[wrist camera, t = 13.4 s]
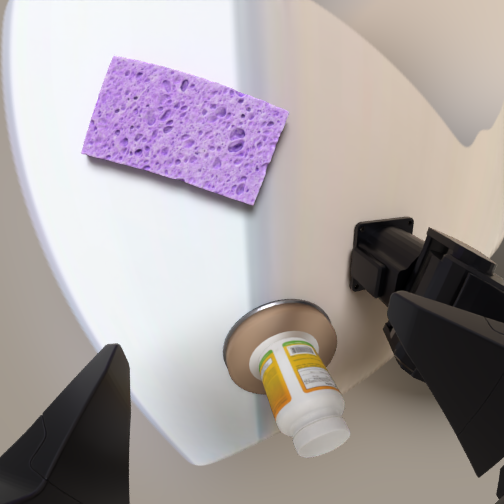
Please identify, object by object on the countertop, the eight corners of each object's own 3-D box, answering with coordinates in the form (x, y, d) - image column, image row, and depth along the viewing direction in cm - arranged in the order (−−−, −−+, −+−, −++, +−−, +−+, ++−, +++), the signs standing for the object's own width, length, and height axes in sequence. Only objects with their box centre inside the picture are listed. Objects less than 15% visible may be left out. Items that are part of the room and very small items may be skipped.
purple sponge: (248, 201, 21) (253, 207, 19) (85, 152, 17) (76, 154, 15) (283, 113, 18) (292, 111, 17) (118, 60, 14) (112, 53, 13)
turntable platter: (335, 292, 24) (343, 301, 23) (325, 370, 29) (330, 380, 27) (218, 314, 23) (220, 325, 21) (232, 391, 27) (234, 403, 26)
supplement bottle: (271, 385, 26) (301, 468, 17) (246, 354, 23) (275, 450, 14) (320, 359, 26) (364, 437, 17) (302, 325, 23) (353, 413, 14)
